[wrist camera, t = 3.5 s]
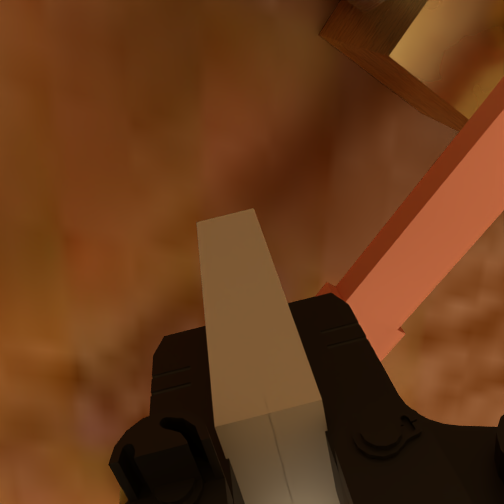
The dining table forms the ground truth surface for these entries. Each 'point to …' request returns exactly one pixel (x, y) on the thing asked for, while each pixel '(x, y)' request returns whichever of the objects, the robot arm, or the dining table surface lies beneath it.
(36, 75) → the dining table surface
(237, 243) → the robot arm
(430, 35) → the valve pipe
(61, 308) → the dining table surface
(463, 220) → the lever
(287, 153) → the dining table surface
